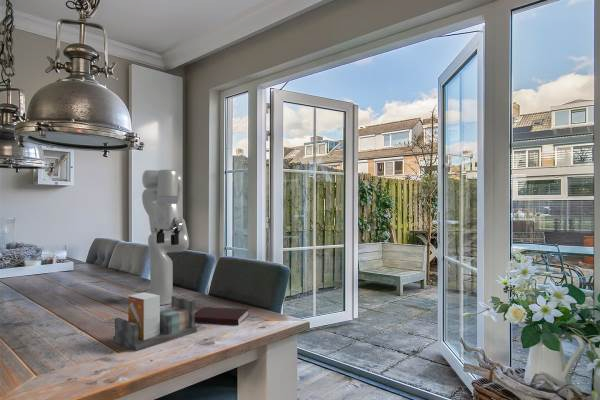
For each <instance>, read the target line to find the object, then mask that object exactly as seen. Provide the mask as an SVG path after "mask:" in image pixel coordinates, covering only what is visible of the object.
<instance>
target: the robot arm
mask: <svg viewBox="0 0 600 400" xmlns="http://www.w3.org/2000/svg"><path fill="white" fill-rule="evenodd" d="M141 182H142V186H143V187H144V188H145V189H144V190H143V191H142V195H141V201H142V206H143V208H144V211H145V212H146V214H147V216H148V222H149V230H150V232H151V233H150V234H149V235H148V238H147V244H148V251H149V263H150V264H149V266H150V267H149V272H150V273H149V277H150V278H149V281H150V282H149V285H150V286H149V287H150V288H149V291H148V292H147V293H151V294H155V295H160V306H163V305H169V304H172V296H174V294H173V293H174V291H173V288H174V286H173V283H174V281H173V279H174V278H173V276H174V275H173V273H174V272H173V269H174V267H173V263H174V262H173V260H172V259H171V257H170V256H169V255H168V253H180V252H181V253H182V252H186V251H187V250H188V249H189V246H190V238H189V234H188V228H187V224H186V221H185V219H184V218H183V217H182V216H179V215H180V213H179V207H178V203H179V202H180V199H181V192H182V187H183V179H182V176H181V174H180V173H179V172H178V171H176V170H175V169H160V170H157V169H156V170H154V169H151V170H150V169H148V170H144V171H143V174H142V181H141Z"/></svg>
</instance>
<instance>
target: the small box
mask: <svg viewBox="0 0 600 400" xmlns="http://www.w3.org/2000/svg"><path fill="white" fill-rule="evenodd" d="M160 308H161V305H160V295H155V294H151V293H148V292H140V293H136V294H131V295H128V311H127V312H128V315H127V316H128V320H127V321H129V322H132V323H135V324H138V338H139V339H142V340H146V339H149V338H152V337H155V336H157V335H160Z"/></svg>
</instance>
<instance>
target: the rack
mask: <svg viewBox="0 0 600 400" xmlns="http://www.w3.org/2000/svg"><path fill="white" fill-rule="evenodd" d="M195 303H196V302H195V300H192V299H189V298H186V297H185V298H184V297H181V296H177V295H173V296H172V303H171V306H169V307H167V308H165V307H160V335H157V336H155V337H152V338H149V339H146V340H142V339H139V338H138V324H135V323H132V322H129V321H128V320H126V319H124V318H121V317H115V318H114V335H113V336H112V337H113V339H112V341H113V342H115V343H116V344H120V345H121V346H123V347H126V348H128V349H130V350H132V351H135V352H138V351H141V350H144V349H147V348H150V347H154V346H156V345H160V344H163V343H166V342H169V341H171V340H174V339H178V338H181V337H184V336H188V335H190V334H193V333H196V332H197V326H195V325H196V324H195V312H196V309H195V307H196V306H195Z"/></svg>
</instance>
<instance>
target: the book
mask: <svg viewBox="0 0 600 400" xmlns="http://www.w3.org/2000/svg"><path fill="white" fill-rule="evenodd" d="M249 310H250V309H249V308H233V307H232V308H230V307H213V306H212V307H207V306H206V307H205V306H204V307H202V308H200V309H198V310H197V311H195V323H198V324H213V325H214V324H215V325H228V326H239V325H240V324H241V323H243V322H244V321H245V320H246V319H247V318H248V317H249V314H250V313H249Z"/></svg>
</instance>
